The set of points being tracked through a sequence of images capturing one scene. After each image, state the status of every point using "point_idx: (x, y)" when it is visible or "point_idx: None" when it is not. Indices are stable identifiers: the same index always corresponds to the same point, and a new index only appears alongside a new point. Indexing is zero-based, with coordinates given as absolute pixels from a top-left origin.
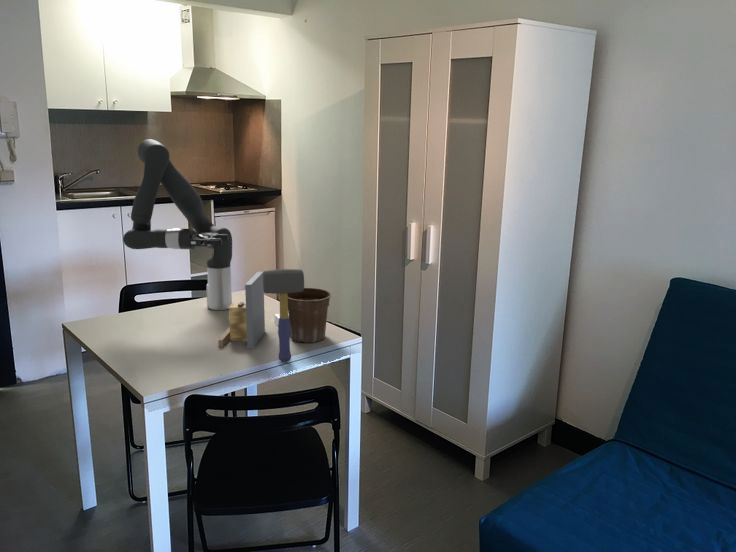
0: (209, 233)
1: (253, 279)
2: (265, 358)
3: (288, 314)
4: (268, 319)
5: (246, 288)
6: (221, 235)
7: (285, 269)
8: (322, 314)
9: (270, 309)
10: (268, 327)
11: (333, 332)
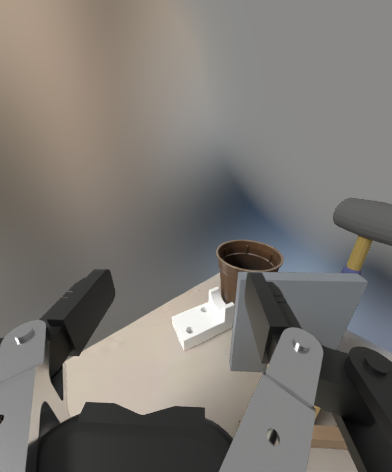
0: (19, 398)
1: (314, 276)
2: (342, 337)
3: (184, 319)
4: (164, 365)
5: (362, 287)
6: (86, 298)
7: (375, 201)
8: (255, 261)
9: (97, 373)
10: (211, 357)
11: (218, 282)
